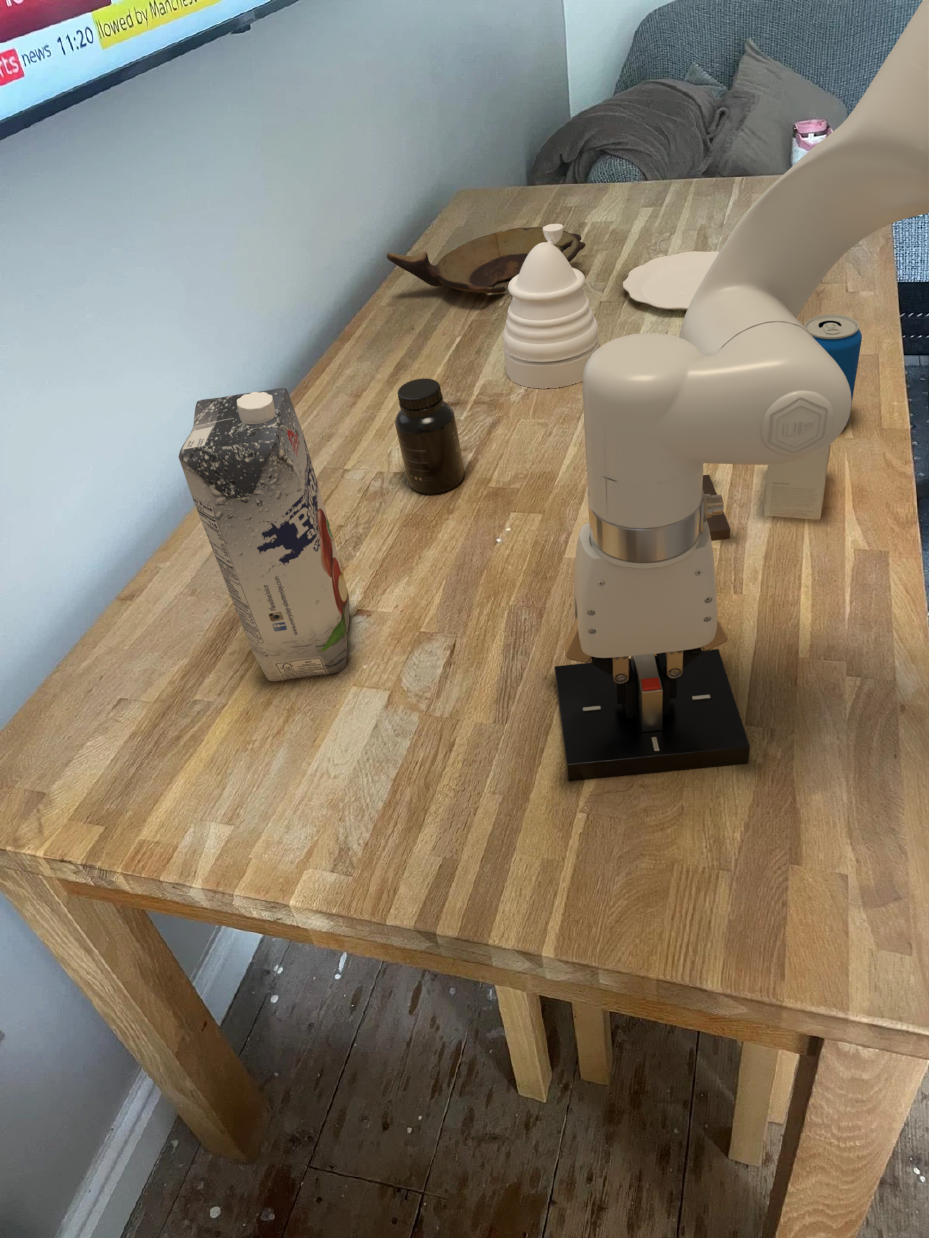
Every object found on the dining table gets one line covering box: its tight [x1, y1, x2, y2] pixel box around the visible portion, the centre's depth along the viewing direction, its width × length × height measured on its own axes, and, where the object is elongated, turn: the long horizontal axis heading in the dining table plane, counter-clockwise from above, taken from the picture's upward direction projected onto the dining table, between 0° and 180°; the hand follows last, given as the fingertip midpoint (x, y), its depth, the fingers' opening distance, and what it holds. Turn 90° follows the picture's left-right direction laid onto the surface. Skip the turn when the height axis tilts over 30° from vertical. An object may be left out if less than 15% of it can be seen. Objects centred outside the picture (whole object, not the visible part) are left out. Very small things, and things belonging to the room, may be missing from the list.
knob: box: [630, 653, 663, 732], centre depth 75 cm, size 6×2×5 cm, turn 1°
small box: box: [763, 443, 832, 521], centre depth 95 cm, size 8×6×10 cm
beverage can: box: [803, 313, 863, 424], centre depth 105 cm, size 6×6×12 cm
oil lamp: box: [386, 226, 586, 294], centre depth 151 cm, size 22×30×8 cm
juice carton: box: [178, 387, 350, 682], centre depth 82 cm, size 9×10×27 cm
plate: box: [622, 250, 720, 312], centre depth 141 cm, size 21×21×2 cm
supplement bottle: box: [394, 377, 465, 495], centre depth 107 cm, size 7×7×12 cm
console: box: [554, 648, 751, 782], centre depth 77 cm, size 14×11×3 cm
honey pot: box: [502, 223, 600, 390], centre depth 123 cm, size 13×13×18 cm
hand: (645, 702), depth 76 cm, fingers closed
